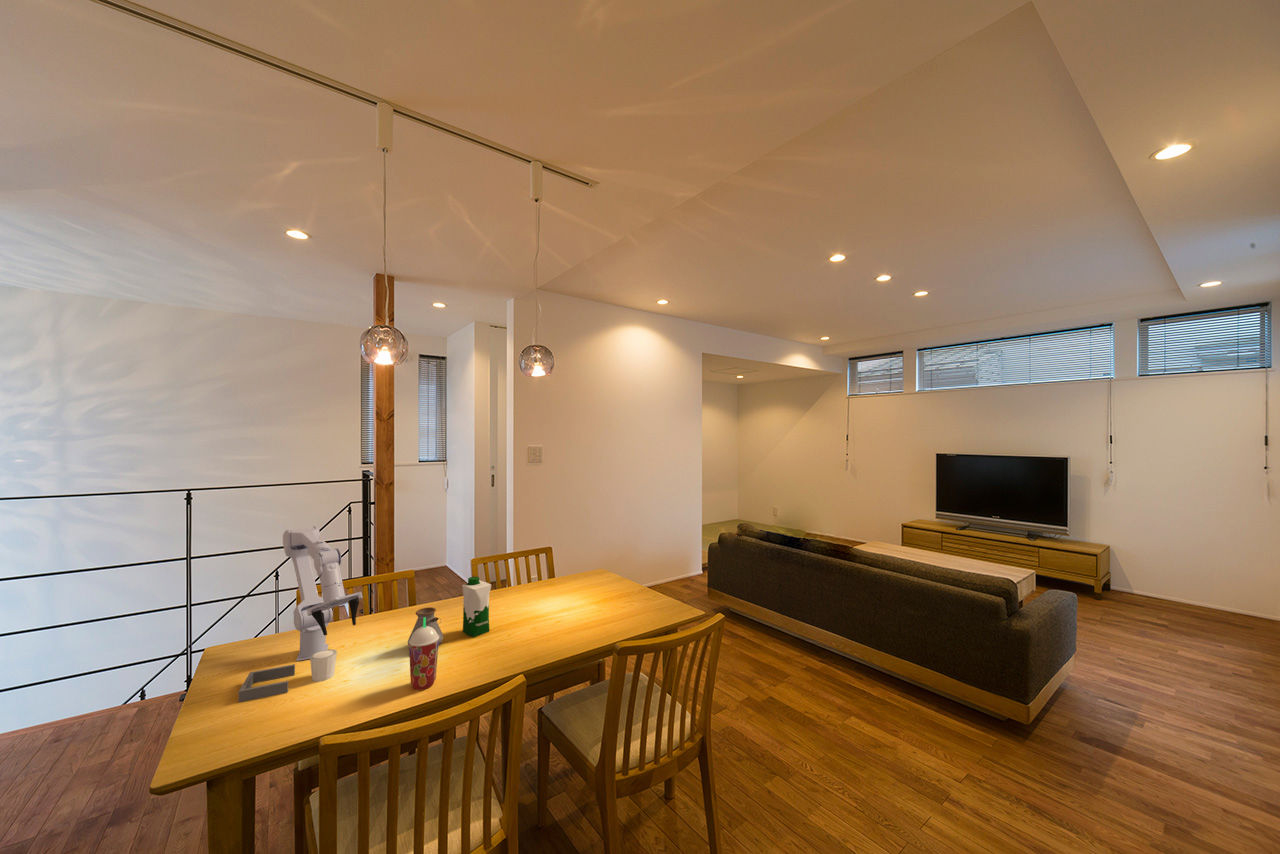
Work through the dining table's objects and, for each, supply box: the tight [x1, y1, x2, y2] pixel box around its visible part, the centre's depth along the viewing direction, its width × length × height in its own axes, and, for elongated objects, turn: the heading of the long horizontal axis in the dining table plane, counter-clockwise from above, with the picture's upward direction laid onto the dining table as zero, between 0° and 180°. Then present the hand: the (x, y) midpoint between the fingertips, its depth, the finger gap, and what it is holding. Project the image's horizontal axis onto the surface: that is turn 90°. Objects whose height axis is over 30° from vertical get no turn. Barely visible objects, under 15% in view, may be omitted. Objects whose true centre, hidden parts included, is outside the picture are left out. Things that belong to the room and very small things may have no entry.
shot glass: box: [309, 648, 338, 682], centre depth 145 cm, size 7×7×7 cm
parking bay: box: [237, 664, 296, 703], centre depth 138 cm, size 12×11×3 cm
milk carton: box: [462, 576, 492, 638], centre depth 178 cm, size 9×9×20 cm
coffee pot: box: [407, 606, 444, 646], centre depth 161 cm, size 21×12×15 cm, turn 37°
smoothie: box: [408, 617, 440, 691], centre depth 141 cm, size 8×8×20 cm
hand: (340, 629), depth 145 cm, fingers open, 7 cm apart
